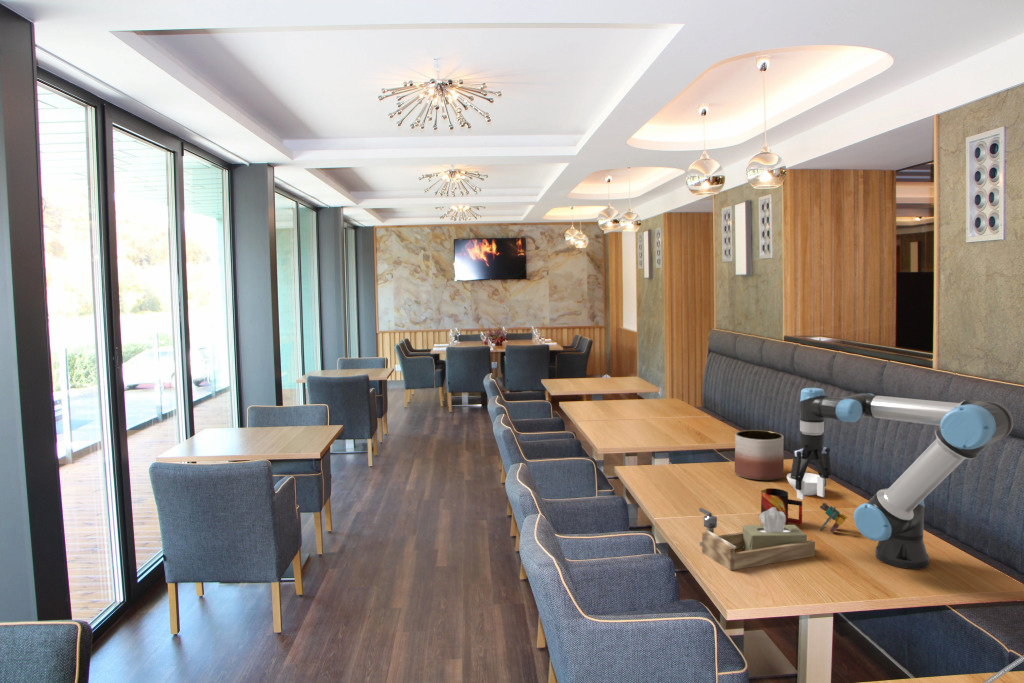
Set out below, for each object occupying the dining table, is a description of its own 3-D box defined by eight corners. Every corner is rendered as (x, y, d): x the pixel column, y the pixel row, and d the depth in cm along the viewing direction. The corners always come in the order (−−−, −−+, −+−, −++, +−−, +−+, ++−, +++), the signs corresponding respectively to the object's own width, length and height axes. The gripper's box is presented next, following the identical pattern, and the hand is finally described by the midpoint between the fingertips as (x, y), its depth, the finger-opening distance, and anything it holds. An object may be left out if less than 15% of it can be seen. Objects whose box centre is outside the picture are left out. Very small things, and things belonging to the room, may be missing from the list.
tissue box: (795, 547, 227) (796, 502, 226) (807, 558, 217) (808, 512, 216) (741, 547, 228) (741, 503, 226) (751, 558, 218) (751, 512, 217)
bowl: (831, 499, 276) (831, 483, 276) (791, 498, 279) (792, 482, 278) (819, 488, 292) (820, 472, 292) (782, 487, 295) (782, 471, 294)
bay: (814, 555, 218) (815, 533, 218) (730, 570, 208) (730, 547, 208) (782, 539, 233) (782, 518, 232) (702, 552, 223) (702, 530, 222)
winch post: (720, 548, 226) (720, 514, 225) (708, 550, 224) (708, 516, 223) (706, 539, 234) (706, 507, 233) (694, 541, 232) (694, 508, 232)
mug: (802, 527, 244) (803, 496, 243) (764, 526, 246) (764, 495, 245) (795, 518, 254) (795, 488, 253) (758, 517, 256) (758, 488, 255)
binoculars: (828, 540, 237) (845, 520, 233) (806, 522, 241) (822, 503, 237) (834, 532, 244) (850, 513, 241) (812, 515, 249) (828, 496, 245)
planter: (770, 468, 325) (770, 429, 324) (792, 481, 303) (792, 438, 302) (727, 470, 324) (727, 430, 323) (746, 482, 302) (746, 440, 301)
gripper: (827, 428, 231) (826, 491, 233) (779, 433, 225) (778, 497, 226) (844, 432, 224) (842, 497, 225) (794, 437, 217) (793, 504, 219)
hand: (810, 497), depth 226 cm, fingers open, 8 cm apart
